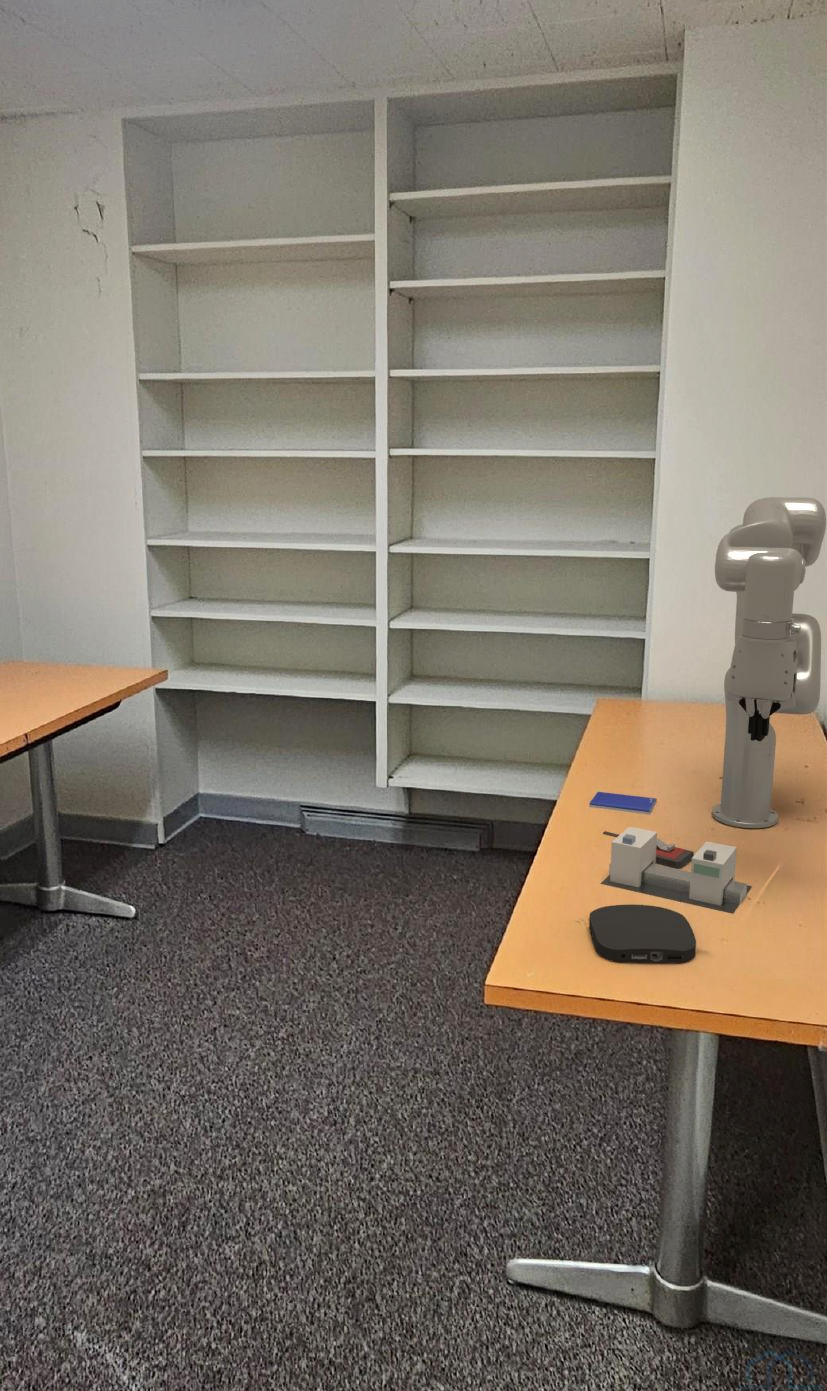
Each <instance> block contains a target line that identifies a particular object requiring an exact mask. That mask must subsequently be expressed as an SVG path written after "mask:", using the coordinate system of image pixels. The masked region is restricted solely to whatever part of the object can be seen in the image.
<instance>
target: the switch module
mask: <svg viewBox="0 0 827 1391" xmlns="http://www.w3.org/2000/svg"><path fill="white" fill-rule="evenodd" d="M737 849H738V846H733V845H727V844H721V843H716V842H713V841H711V842H710V841H705V842H704V844H702V846H701V847H700V848H699V849H698V851H696V852H695V853H694V856H693V857H692V861H691V862H690V864H691V865H690V872H691V878H690V894H689V899H693V900H697V901H702V902H706V903H711V904H716V905H721V904H722V900H723V889H724V888H725V886H726V885H727V884H728V882H729V881H730V880H732V881H735V877H736V864H737V863H736V862H737V853H738V852H737Z"/></svg>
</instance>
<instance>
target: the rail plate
mask: <svg viewBox="0 0 827 1391" xmlns="http://www.w3.org/2000/svg"><path fill="white" fill-rule="evenodd" d="M610 868H611V862H610V863H609V869H608V870H609V871H608V875H607V877H606V878H605V879H604V880H603V881H601V882H600V885H605V886H609V887H612V888H617V889H621V890H625V891H631V892H635V893H639V894H643V895H647V896H648V895H649V896H653V897H656V898H662V899H666V900H670V901H675V902H680V903H683V904H687V905H691V906H697V907H700V908H701V907H702V908H705V909H709V910H710V909H711V910H715V911H719V912H722V913H728V914H730V915H731V914H732V915H733V914H735V912H736V910H737V909H738V908H739V906H740V904H741V903H742V902H743V901H744V899H745V898H746V896H748V894H749V892H750V890H751V889H752V888H753V886H752V885H749V884H748V883H746V882H741V881H736V880H734V881H732V880H730V881H729V882H728V884H727V885H726V886H725V888H724V889H723V900H722V904H721V905H716V904H711V903H706V902H702V901H697V900H693V899H689V894H690V878H691V871H688V870H684V869H675V868H670V867H667V866H664V865H660V864H651V863H650V864H649V865H648V866H647V867H646V868H645V869H644V870H643V871H642V875H641V885H640V886H639V887H634V886H630V885H625V884H621V883H616V882H612V881H610Z"/></svg>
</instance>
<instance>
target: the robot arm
mask: <svg viewBox="0 0 827 1391" xmlns="http://www.w3.org/2000/svg"><path fill="white" fill-rule="evenodd" d="M826 527H827V514H826V511H825V508H824V506H823V504H822V502H821V501H819V500H818V499H816V498H812V497H773V496H772V497H761V498H759V499H756V500H754V501H753V502H751V503H750V504H749V505H748V506H747V508H746V509H745V512H744V514H743V519H742V524H738V525H736V526H734V527H733V528H731V529H730V530H729V532H728V533H725V535H724V536H723V537H722V538H721V540H720V541H719V543H718V545H717V549H716V554H715V563H714V577H715V582H716V584H717V586H718V587H719V588H720V589H721V590H723V591H725V592H730V593H731V592H735V593H736V605H735V607H736V608H735V623H734V624H735V626H734V648H733V652H732V656H731V663H730V668H728V669H727V670H726V672H725V675H724V680H723V691H724V692H723V693H724V701H725V735H724V736H725V737H724V750H723V751H724V752H723V765H722V779H721V780H722V781H721V791H720V792H721V793H720V803H719V804H716V805H715V806H713V807H712V809H711V815H712V816H711V817H713V818H714V819H715V820H716V821H718V822H720V823H722V824H725V825H728V826H731V827H735V828H736V827H737V828H743V829H764V828H769V827H773V826H775V825H777V823H778V822H779V813H777V812H776V811H775V810H774V809H771V807H772V796H773V794H772V793H773V784H774V783H773V782H774V771H775V759H776V758H775V757H776V747H777V746H776V745H777V734H776V732H775V729H774V726H773V725H772V724H771V722H770V721H771V720H770V719H771V716H772V715H774V714H784V715H786V714H787V715H798V716H799V715H810V714H812V713H814V711H815V712H816V709H817V708H818V706H819V703H820V696H821V676H822V675H821V670H822V669H821V668H822V666H821V665H822V664H821V663H822V660H821V659H822V633H821V632H822V631H821V628H820V624H819V622H818V620H817V619H816V618H815V617H814V616H812V615H809V614H806V613H793V609H794V597H795V596H794V595H795V591H796V590H798V588H799V587H800V585H802V584H803V583H804V580H805V577H806V576H805V575H806V571H807V570H806V569H807V568H806V567H810V566H812V565H814V564H815V562H816V561H817V560H818V559H819V555H820V552H821V548H822V544H823V541H824V538H825V536H826V530H827V528H826Z"/></svg>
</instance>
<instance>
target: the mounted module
mask: <svg viewBox="0 0 827 1391" xmlns="http://www.w3.org/2000/svg"><path fill="white" fill-rule="evenodd" d="M657 838H658V832H657V831H654V830H648V829H644V828H639V827H632V826H628V827H627V828H626V829H625V830H624V831H623V832H621V833H620V834H619V836H618V837H615V839H613V840H612V841H611V848H610V863H611V868H610V881H612V882H616V883H621V884H625V885H630V886H634V887H639V886H640V885H641V875H642V871H643V870H644V869H645V868H646V867H647V866H648V865H649V864H650V863H651V864H656V845H657ZM656 865H657V864H656Z"/></svg>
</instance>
